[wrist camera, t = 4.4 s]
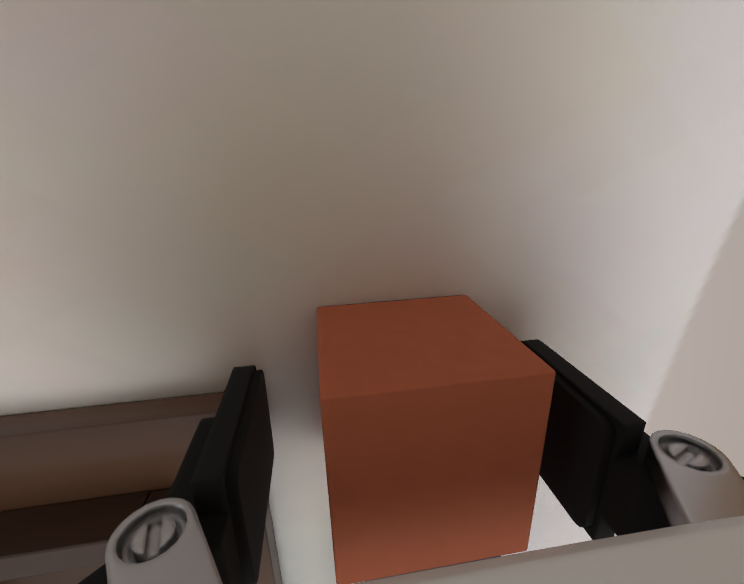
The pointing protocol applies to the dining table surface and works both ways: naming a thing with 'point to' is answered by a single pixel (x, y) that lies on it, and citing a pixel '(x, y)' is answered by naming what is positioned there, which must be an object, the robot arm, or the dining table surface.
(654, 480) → the robot arm
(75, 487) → the dark brown flat tray
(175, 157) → the dining table surface
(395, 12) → the dining table surface
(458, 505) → the orange-brown block
